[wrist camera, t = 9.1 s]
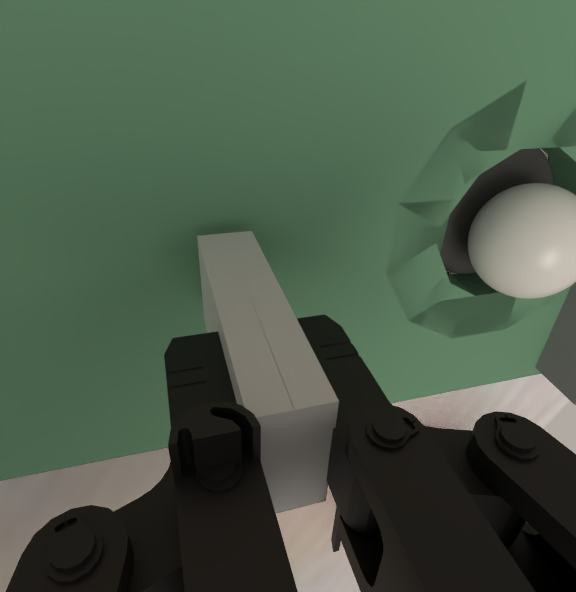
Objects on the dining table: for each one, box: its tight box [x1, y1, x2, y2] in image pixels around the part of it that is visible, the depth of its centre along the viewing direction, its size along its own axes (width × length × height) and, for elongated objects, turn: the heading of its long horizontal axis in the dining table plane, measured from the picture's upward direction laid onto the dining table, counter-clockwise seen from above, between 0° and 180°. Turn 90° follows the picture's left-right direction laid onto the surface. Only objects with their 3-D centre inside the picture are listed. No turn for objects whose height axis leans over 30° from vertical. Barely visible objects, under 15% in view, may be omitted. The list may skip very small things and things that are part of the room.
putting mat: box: [0, 0, 576, 481], centre depth 14 cm, size 28×16×4 cm, turn 88°
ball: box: [468, 183, 576, 299], centre depth 16 cm, size 4×4×4 cm
